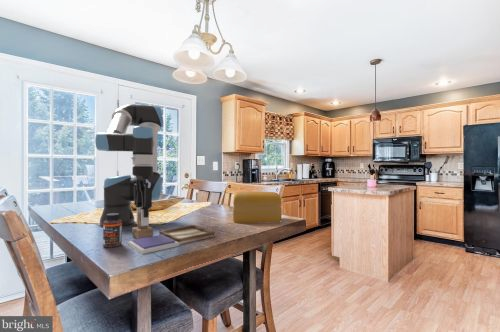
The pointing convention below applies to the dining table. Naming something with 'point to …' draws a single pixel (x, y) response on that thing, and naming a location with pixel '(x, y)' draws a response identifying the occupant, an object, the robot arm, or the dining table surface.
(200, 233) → the print board
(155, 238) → the ink pad
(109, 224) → the supplement bottle
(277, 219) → the bread
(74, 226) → the dining table surface
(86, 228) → the dining table surface
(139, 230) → the stamp
